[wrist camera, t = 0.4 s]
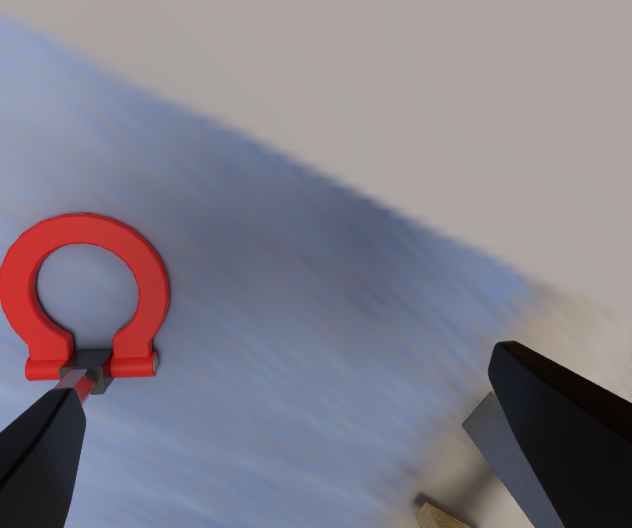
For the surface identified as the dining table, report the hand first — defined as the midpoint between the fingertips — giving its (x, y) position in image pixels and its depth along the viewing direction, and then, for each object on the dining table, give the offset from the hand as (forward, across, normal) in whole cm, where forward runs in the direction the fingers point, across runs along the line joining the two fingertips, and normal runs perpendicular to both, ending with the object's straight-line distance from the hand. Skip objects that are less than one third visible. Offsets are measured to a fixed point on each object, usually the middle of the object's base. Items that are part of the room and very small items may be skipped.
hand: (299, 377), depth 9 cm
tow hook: (+15, +10, +7) cm, 19 cm away
